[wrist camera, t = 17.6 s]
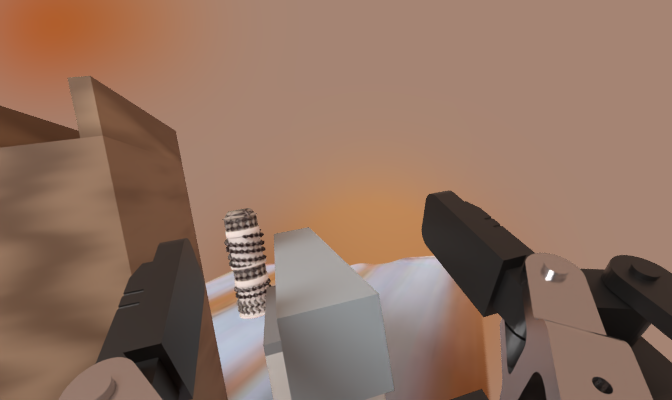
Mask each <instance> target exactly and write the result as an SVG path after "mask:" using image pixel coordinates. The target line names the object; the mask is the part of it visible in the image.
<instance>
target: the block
mask: <svg viewBox="0 0 672 400" xmlns="http://www.w3.org/2000/svg"><path fill="white" fill-rule="evenodd" d="M263 346H264V351H265V356H266V362H267V367H268V373H269V378H270V383H271V389H272V394H273V400H291V395H290V389H289V384H288V378H287V373H286V367H285V362H284V356H283V351H282V345H281V340H280V334H279V329H278V323H277V313H276V286H271V287H267V290H266V308H265V326H264V344H263ZM366 400H386V399H385V394H381V395H378V396H375V397H372V398H369V399H366Z"/></svg>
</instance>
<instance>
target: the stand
mask: <svg viewBox="0 0 672 400" xmlns="http://www.w3.org/2000/svg"><path fill="white" fill-rule="evenodd" d="M68 82H69V87H70V92H71V96H72V101H73V106H74V110H75V115H76V120H77V125H78V129H79V131H77V130H74V129H71V128H68V127H65V126H62V125H58V124H55V123H52V122H49V121H46V120H43V119H40V118H37V117H34V116H30V115H27V114H24V113H21V112H18V111H15V110H12V109H9V108H6V107H2V106H0V400H58V399H59V398H60V396H61V394H62V393H63V391H64V390H65V389H66V387H67V386H68V385H69V384H70V383H71V382H72V381H73V380H74V379H75V378H76V377H77V376H78V375H79V374H81V373H82V372H83V371H85V370H86V369H88V368H89V367H91V366H93V365H94V364H95V363H96V361H97V359H98V356H99V354H100V351H101V349H102V346H103V343H104V341H105V338H106V336H107V333H108V331H109V328H110V326H111V323H112V321H113V318H114V316H115V313H116V311H117V310H118V309H119V307H118V305H119V303H120V300H121V298H122V296H124V294H123V293H124V290H125V288H126V285H127V283H128V280H129V278H130V277H131V276H132V274H133V273H134V272H135V271H136V270H137V269H138V268H139V267H140V266H141V264H142V263H147V262H152V261H153V259H154V256H155V253H156V250H157V247H158V245H159V243H161V242H167V241H172V240H178V239H183V238H188V239H189V241H190V242H191V245H192V248H193V250H194V253H195V256H196V258H197V261H198V264H199V266H200V269H201V272H202V275H203V270H202V265H201V260H200V254H199V249H198V244H197V239H196V234H195V229H194V224H193V219H192V214H191V208H190V203H189V198H188V192H187V187H186V182H185V177H184V172H183V167H182V162H181V156H180V151H179V146H178V141H177V136H176V131H175V130H173V129H172V128H170V127H169V126H167V125H165V124H164V123H162V122H161V121H159V120H158V119H156V118H155V117H153V116H152V115H150V114H148V113H147V112H145V111H144V110H142V109H141V108H139V107H138V106H136V105H134V104H133V103H131V102H130V101H128V100H127V99H125V98H124V97H122V96H120V95H119V94H117V93H116V92H114V91H113V90H111V89H109V88H108V87H106V86H105V85H103V84H102V83H100V82H99V81H97V80H96V79H94V78H92V77H91V76H85V77H73V78H68ZM203 279H204V275H203ZM204 286H205V295H204V304H203V313H202V322H201V331H200V340H199V349H198V358H197V367H196V376H195V385H194V395H193V399H191V400H228V399H227V394H226V388H225V383H224V378H223V373H222V368H221V363H220V357H219V352H218V347H217V342H216V337H215V332H214V327H213V321H212V316H211V311H210V306H209V301H208V296H207V290H206V285H205V281H204Z"/></svg>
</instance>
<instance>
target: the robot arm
mask: <svg viewBox="0 0 672 400" xmlns="http://www.w3.org/2000/svg"><path fill="white" fill-rule="evenodd" d="M422 236H423V239H424V242H425V244H426V245H427V247H428V248H429V249H430V251H431V252H432V253H433V254H434V256H435V257H436V258H437V259H438V261H439V262H440V263H441V264H442V266H443V267H444V268H445V269H446V271H447V272H448V273H449V274H450V276H451V277H452V278H453V279H454V281H455V282H456V283H457V284H458V286H459V287H460V288H461V289H462V291H463V292H464V293H465V294H466V296H467V297H468V298H469V299H470V301H471V302H472V303H473V304H474V306H475V307H476V308H477V309H478V311H479V312H480V313H481V314H482V316H483V317H486V316H489V315H493V314H496V313H498V314H499V315H500V316H501V317H502V320H501V323H500V335H501V357H502V378H503V380H502V391H501V395H500V400H672V363H671V362H670V361H669V360H668V359H667V358H666V357H665V356H663V355H662V354H661V353H660V352H659V351H658V350H656V349H655V348H654V347H653V346H652V345H651V344H649V343H648V342H647V341H646V340H645V339H644V338H643V337H641V335H642V334H643V333H644V332H645V331H646V329H647V328H648V327H649V326H650V325H651V324H653V325H654V326H655V327H656V328H658V329H659V330H660V331H661V332H662V333H664V334H665V335H666V336H667V337H669V338H670V339H671V340H672V273H670V272H669V271H667V270H666V269H664V268H662V267H661V266H659V265H657V264H655V263H652V262H650V261H648V260H645V259H642V258H639V257H634V256H628V255H620V256H615V257H614V258H612V259H611V260H610V262H609V264H608V265H607V267H606V269H605V270H598V269H579V268H578V267H577V266H576V265H575V264H573V263H571V262H570V261H568V260H566V259H564V258H562V257H560V256H557V255H553V254H548V253H534V252H533V251H532V250H531V249H529V248H528V247H527V246H526V245H525V244H523V243H522V242H521V241H520V240H519V239H517V238H516V237H515V236H514V235H512V234H511V233H510V232H509V231H508V230H506V229H505V228H504V227H503V226H500V224H499V223H498V222H497V221H495V220H494V219H491V216H489V215H488V214H487V213H486V212H484V211H483V210H482V209H481V208H479V207H477V206H475V205H473V204H470V203H468V202H466V201H465V202H464V201H463V200H462V199H461V198H459V197H458V196H457V195H456V194H455V193H453V192H452V191H443V192H438V193H433V194H429V195H428V196H427V198H426V203H425V210H424V218H423V224H422ZM123 294H124V296H122V298H121V300H120V303H119V305H118V307H119V309H118V310H117V311H116V313H115V316H114V318H113V321H112V323H111V326H110V328H109V331H108V333H107V336H106V338H105V341H104V343H103V346H102V349H101V351H100V354H99V356H98V359H97V361H96V363H95V364H94V365H93V366H91V367H89V368H88V369H86V370H85V371H83V372H82V373H81V374H79V375H78V376H77V377H76V378H75V379H74V380H73V381H72V382H71V383H70V384H69V385H68V386H67V387H66V389H65V390H64V391H63V393H62V394H61V396H60V398H59V399H58V400H191V399H193V395H194V385H195V376H196V367H197V358H198V349H199V340H200V331H201V322H202V313H203V304H204V295H205V286H204V279H203V275H202V272H201V269H200V266H199V264H198V261H197V258H196V256H195V253H194V250H193V248H192V245H191V242H190V241H189V239H188V238H183V239H178V240H172V241H167V242H161V243H159V245H158V247H157V250H156V253H155V256H154V259H153V261H152V262H147V263H142V264H141V266H140V267H139V268H138V269H137V270H136V271H135V272H134V273H133V274H132V276H131V277H130V278H129V280H128V283H127V285H126V288H125V290H124V293H123ZM451 400H488V398H487V396H486V395H485V393H484V392H483V390H482V389H480V390H477V391H475V392H472V393H469V394H466V395H463V396H460V397H457V398H454V399H451Z"/></svg>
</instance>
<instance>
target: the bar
mask: <svg viewBox="0 0 672 400" xmlns="http://www.w3.org/2000/svg"><path fill="white" fill-rule="evenodd" d="M274 248H275V249H274V251H275V282H276V313H277V323H278V329H279V334H280V340H281V345H282V351H283V356H284V362H285V367H286V373H287V378H288V384H289V389H290V395H291V400H366V399H369V398H372V397H375V396H378V395H381V394H385V393H388V392H391V391H394V385H393V378H392V372H391V366H390V360H389V354H388V347H387V341H386V335H385V329H384V323H383V316H382V310H381V304H380V298H379V293H378V292H377V291H375V290H374V289H373V288H372V287H371V286H370V285H369V284H368V283H367V282H366V281H365V280H364V279H363V278H362V277H361V276H360V275H359V274H358V273H356V272H355V271H354V270H353V269H352V268H351V267H350V266H349V265H348V264H347V263H346V262H345V261H344V260H343V259H342V258H341V257H340V256H339V255H338V254H336V253H335V252H334V251H333V250H332V249H331V248H330V247H329V246H328V245H327V244H326V243H325V242H324V241H323V240H322V239H321V238H320V237H319V236H317V235H316V234H315V233H314V232H313V231H312V230H311V229H310V228H309V227H308V228H303V229H298V230H293V231H287V232H282V233H277V234H274Z"/></svg>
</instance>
